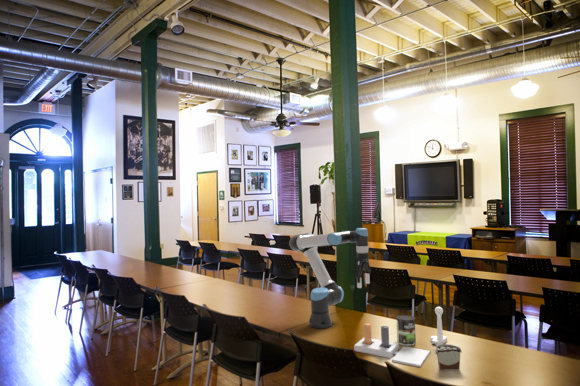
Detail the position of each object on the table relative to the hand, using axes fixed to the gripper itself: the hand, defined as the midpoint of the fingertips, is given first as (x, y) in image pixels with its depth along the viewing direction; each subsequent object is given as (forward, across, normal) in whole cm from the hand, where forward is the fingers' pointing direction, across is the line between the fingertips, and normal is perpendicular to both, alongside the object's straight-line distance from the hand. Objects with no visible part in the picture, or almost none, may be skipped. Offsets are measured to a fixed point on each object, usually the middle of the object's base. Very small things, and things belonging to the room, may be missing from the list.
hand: (363, 285), depth 247 cm
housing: (+27, -31, -19) cm, 45 cm away
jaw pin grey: (+27, -31, -24) cm, 47 cm away
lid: (+27, -32, -37) cm, 56 cm away
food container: (+27, -36, -56) cm, 72 cm away
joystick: (+27, -4, -45) cm, 53 cm away
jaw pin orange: (+27, -31, -14) cm, 43 cm away
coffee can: (+27, -13, -30) cm, 42 cm away
